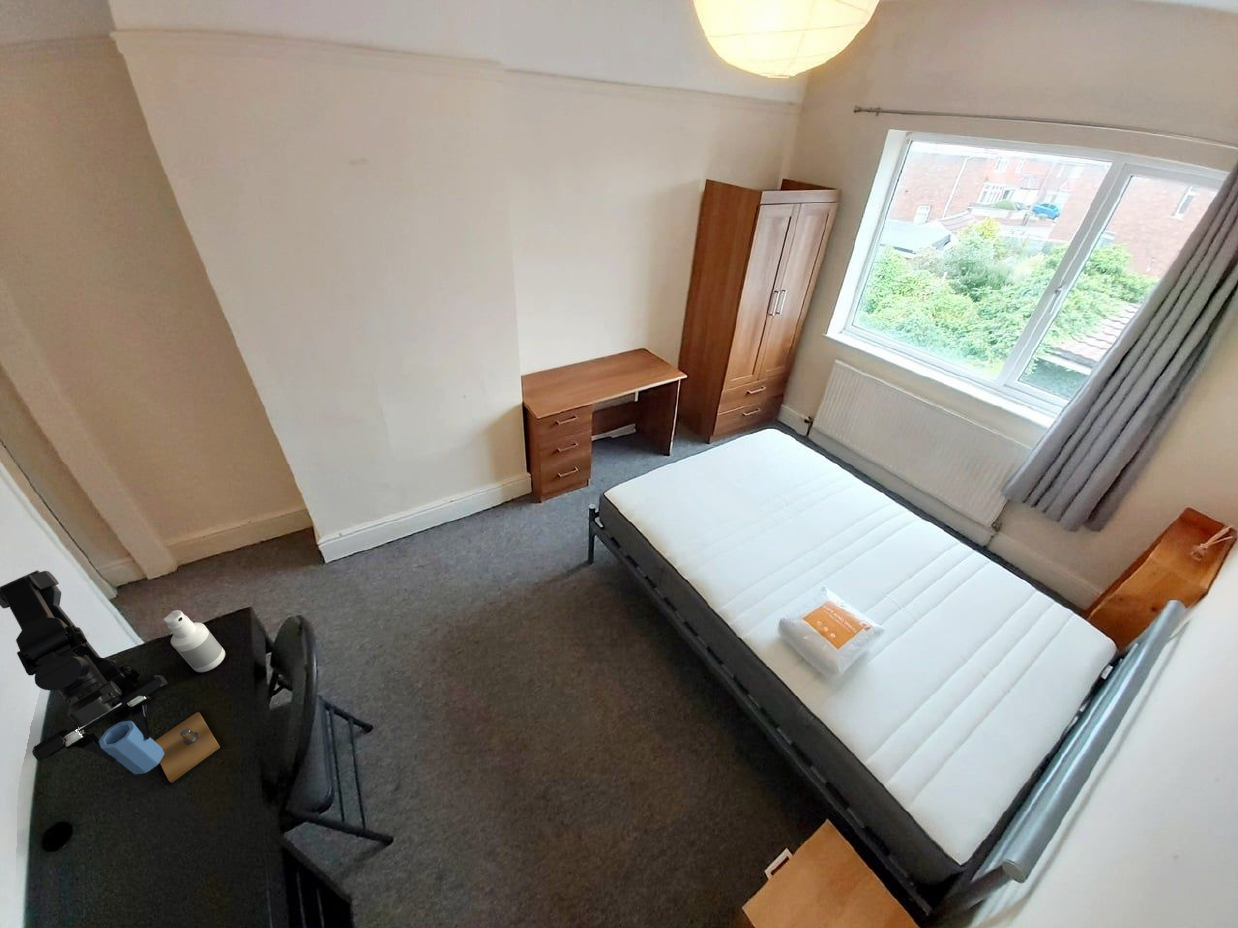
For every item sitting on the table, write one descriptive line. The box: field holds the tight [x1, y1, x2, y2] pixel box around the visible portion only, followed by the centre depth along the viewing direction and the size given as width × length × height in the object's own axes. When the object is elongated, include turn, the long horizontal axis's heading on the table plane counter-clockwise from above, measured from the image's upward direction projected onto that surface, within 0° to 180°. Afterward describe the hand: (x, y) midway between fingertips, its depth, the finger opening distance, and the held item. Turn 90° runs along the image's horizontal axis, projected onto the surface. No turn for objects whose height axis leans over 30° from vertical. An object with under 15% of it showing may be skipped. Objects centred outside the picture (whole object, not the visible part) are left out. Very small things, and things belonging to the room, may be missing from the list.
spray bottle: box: [163, 609, 226, 673], centre depth 121 cm, size 7×7×18 cm
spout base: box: [154, 711, 221, 784], centre depth 107 cm, size 12×9×4 cm
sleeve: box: [99, 720, 164, 775], centre depth 98 cm, size 5×5×11 cm
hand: (131, 749), depth 96 cm, fingers closed on sleeve, 5 cm apart
